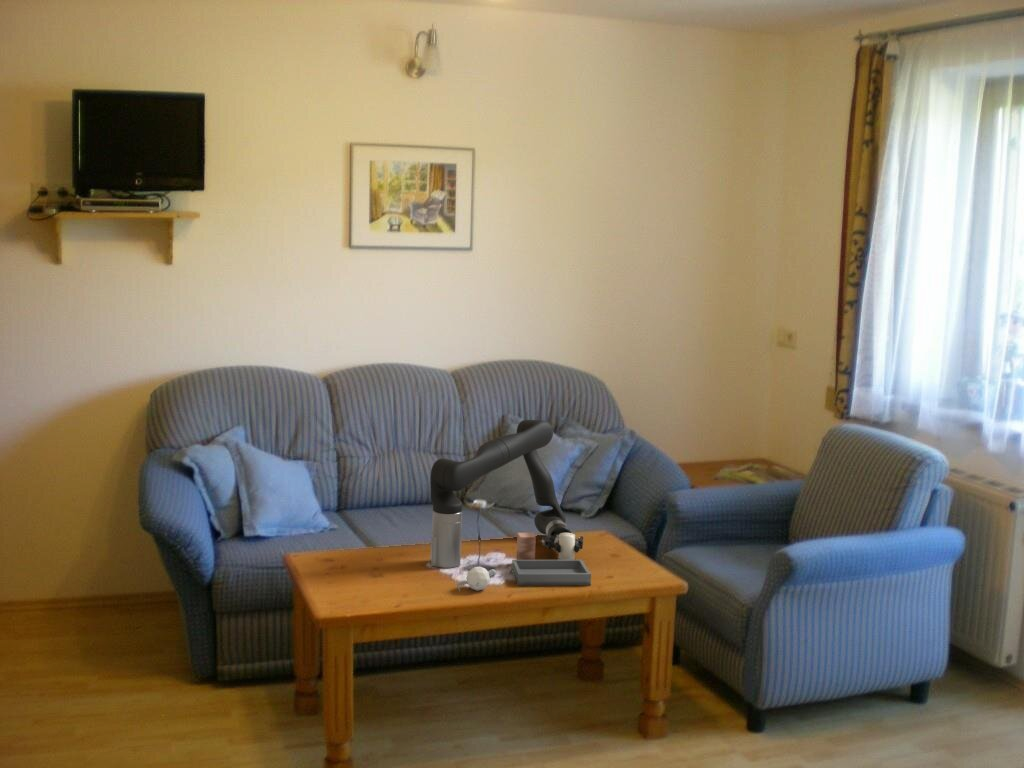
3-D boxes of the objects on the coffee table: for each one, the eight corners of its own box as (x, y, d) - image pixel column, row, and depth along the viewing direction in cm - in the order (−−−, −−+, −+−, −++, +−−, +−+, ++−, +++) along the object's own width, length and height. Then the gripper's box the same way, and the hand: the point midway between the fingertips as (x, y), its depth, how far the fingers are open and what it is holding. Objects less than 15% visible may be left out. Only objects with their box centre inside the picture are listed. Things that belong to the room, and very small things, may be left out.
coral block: (518, 568, 345) (519, 537, 343) (516, 563, 350) (517, 532, 348) (534, 568, 345) (535, 537, 344) (531, 563, 350) (533, 532, 349)
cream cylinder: (559, 568, 346) (560, 537, 345) (556, 562, 351) (558, 532, 350) (575, 567, 347) (576, 537, 346) (572, 562, 352) (573, 532, 351)
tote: (518, 585, 328) (518, 574, 328) (511, 570, 342) (512, 559, 341) (590, 585, 331) (591, 574, 331) (581, 570, 345) (581, 559, 344)
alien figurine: (464, 602, 319) (502, 586, 321) (457, 580, 317) (495, 564, 320) (458, 593, 326) (495, 578, 328) (451, 572, 324) (488, 557, 327)
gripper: (537, 522, 361) (546, 538, 344) (580, 522, 363) (591, 538, 346) (536, 545, 362) (545, 561, 345) (579, 544, 364) (590, 561, 347)
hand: (568, 549), depth 346 cm, fingers closed on cream cylinder, 5 cm apart
